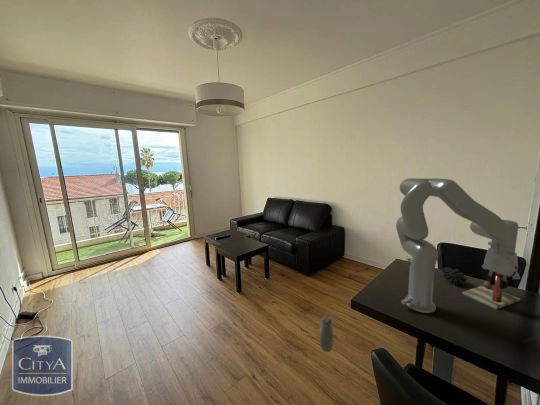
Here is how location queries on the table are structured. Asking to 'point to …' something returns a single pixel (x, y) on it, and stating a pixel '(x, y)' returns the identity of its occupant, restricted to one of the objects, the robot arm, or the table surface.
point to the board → (490, 297)
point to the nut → (487, 284)
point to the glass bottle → (326, 334)
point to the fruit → (454, 276)
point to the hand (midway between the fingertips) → (498, 285)
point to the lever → (497, 288)
